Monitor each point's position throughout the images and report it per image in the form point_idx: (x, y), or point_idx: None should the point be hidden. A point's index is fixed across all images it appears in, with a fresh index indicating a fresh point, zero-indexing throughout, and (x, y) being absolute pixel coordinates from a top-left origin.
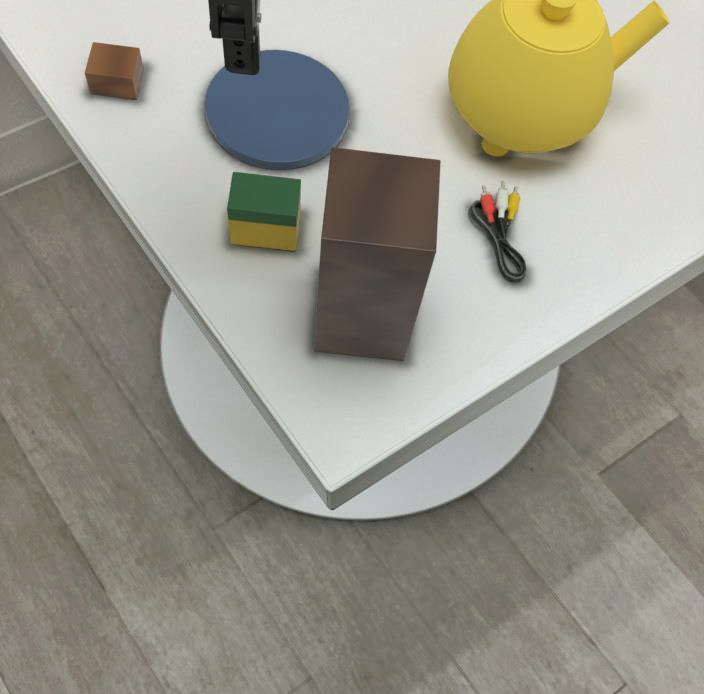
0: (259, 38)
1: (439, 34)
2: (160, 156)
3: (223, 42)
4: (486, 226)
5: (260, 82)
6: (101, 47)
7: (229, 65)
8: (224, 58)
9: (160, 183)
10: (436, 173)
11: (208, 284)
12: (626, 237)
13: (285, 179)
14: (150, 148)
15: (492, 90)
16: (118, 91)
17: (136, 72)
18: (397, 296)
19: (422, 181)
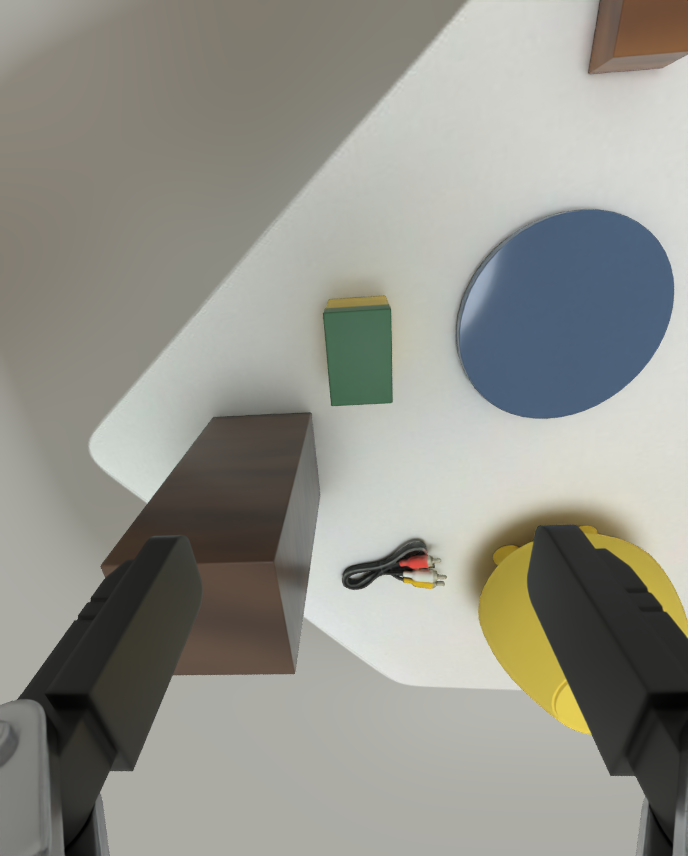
0: (165, 687)
1: (680, 497)
2: (466, 155)
3: (99, 613)
4: (395, 559)
5: (606, 294)
6: None
7: (105, 582)
8: (131, 563)
9: (414, 169)
10: (269, 672)
11: (262, 282)
12: (408, 646)
13: (388, 383)
14: (481, 132)
15: (529, 610)
16: (601, 29)
17: (637, 60)
18: None
19: (251, 660)
